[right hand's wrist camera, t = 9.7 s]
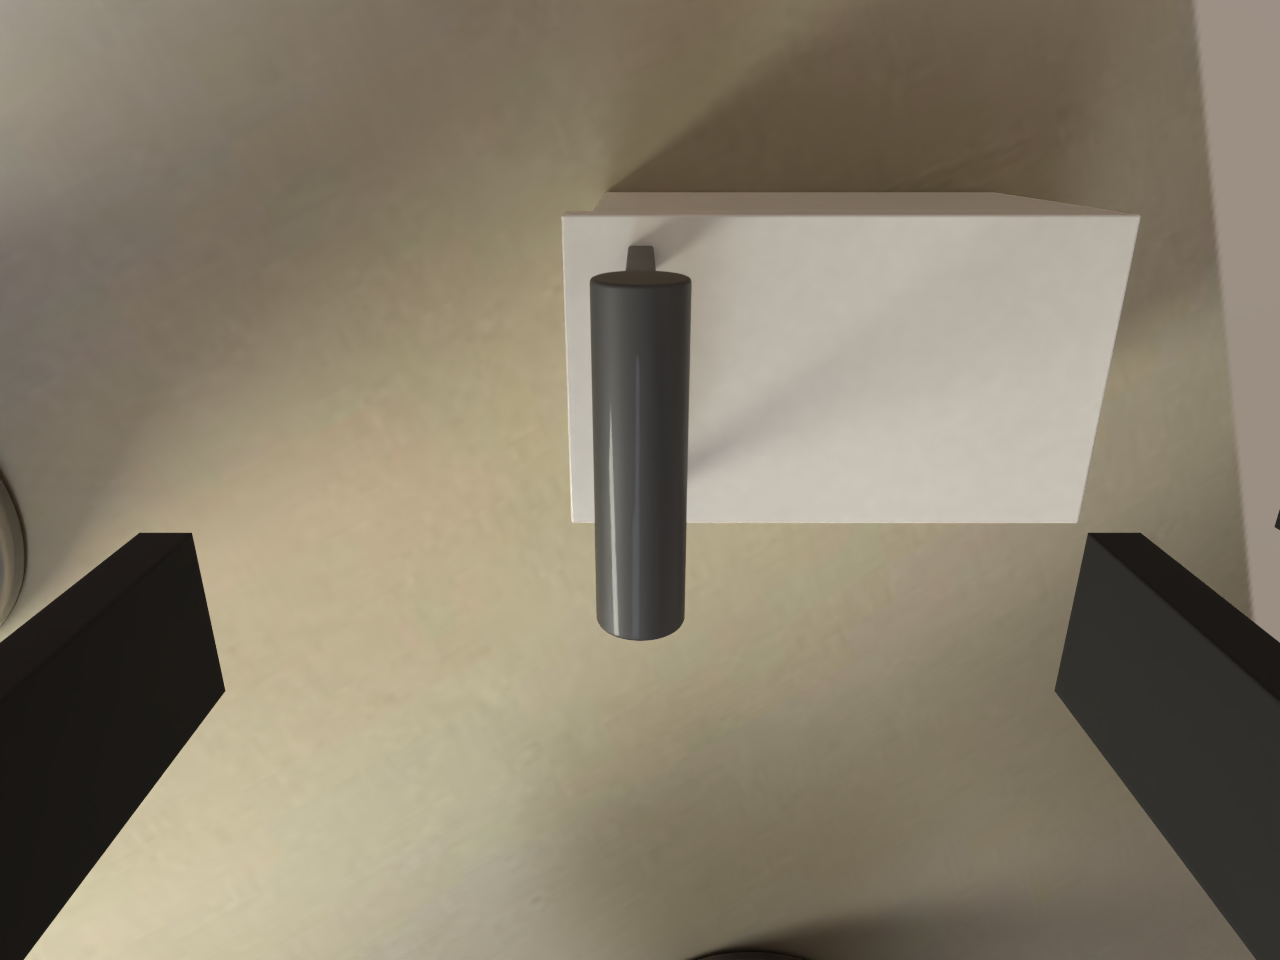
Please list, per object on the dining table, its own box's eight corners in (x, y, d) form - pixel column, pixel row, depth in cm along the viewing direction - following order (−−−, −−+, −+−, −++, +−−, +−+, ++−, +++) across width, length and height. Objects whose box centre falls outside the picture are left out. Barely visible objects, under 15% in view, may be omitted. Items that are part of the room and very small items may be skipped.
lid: (574, 507, 28) (544, 667, 20) (564, 210, 25) (524, 248, 16) (1060, 507, 28) (1242, 668, 20) (1119, 210, 25) (1369, 248, 16)
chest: (608, 420, 37) (597, 507, 28) (605, 191, 33) (592, 210, 25) (961, 420, 37) (1059, 507, 28) (995, 192, 33) (1118, 210, 25)
